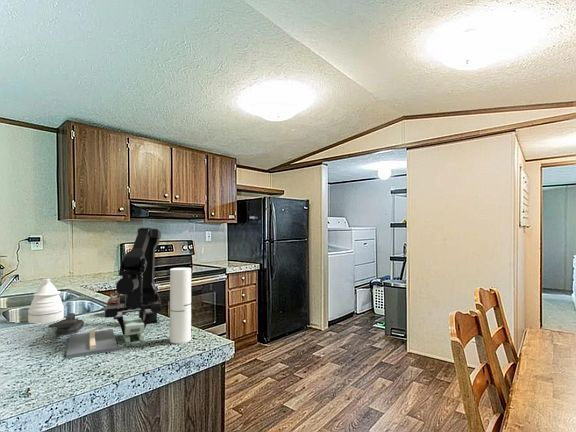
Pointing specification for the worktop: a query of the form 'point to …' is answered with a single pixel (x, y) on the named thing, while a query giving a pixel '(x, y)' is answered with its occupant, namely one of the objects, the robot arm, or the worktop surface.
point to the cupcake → (115, 301)
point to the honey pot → (46, 304)
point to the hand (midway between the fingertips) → (133, 333)
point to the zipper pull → (67, 325)
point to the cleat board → (91, 343)
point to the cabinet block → (133, 329)
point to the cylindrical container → (180, 305)
